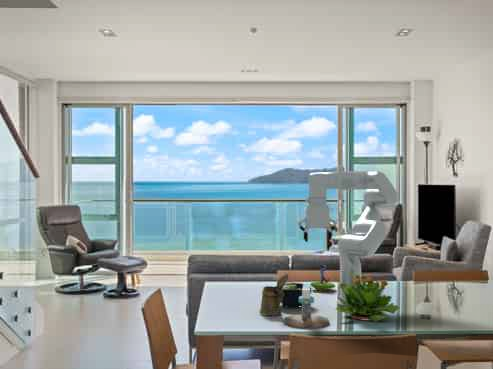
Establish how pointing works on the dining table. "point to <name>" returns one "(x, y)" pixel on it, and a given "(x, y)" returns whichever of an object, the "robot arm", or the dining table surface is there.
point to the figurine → (322, 284)
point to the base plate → (303, 323)
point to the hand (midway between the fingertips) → (317, 241)
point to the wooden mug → (273, 297)
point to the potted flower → (366, 299)
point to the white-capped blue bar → (306, 295)
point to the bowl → (292, 294)
